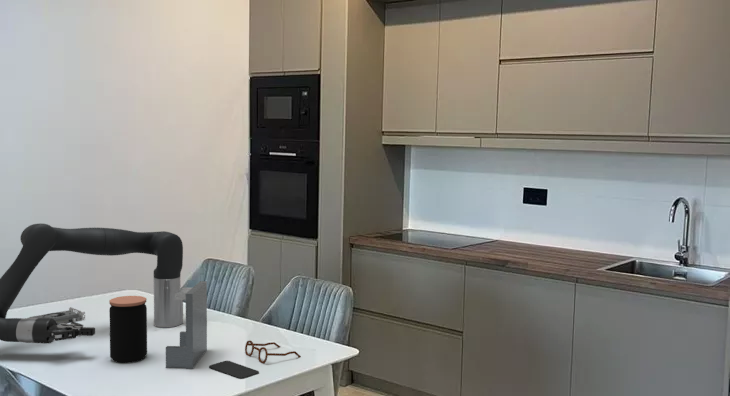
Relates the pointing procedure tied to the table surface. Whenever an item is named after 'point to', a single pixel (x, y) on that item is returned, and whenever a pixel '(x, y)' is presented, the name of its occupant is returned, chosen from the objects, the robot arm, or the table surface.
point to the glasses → (265, 350)
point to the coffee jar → (128, 329)
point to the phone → (233, 369)
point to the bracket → (191, 329)
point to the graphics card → (64, 316)
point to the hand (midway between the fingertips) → (94, 331)
